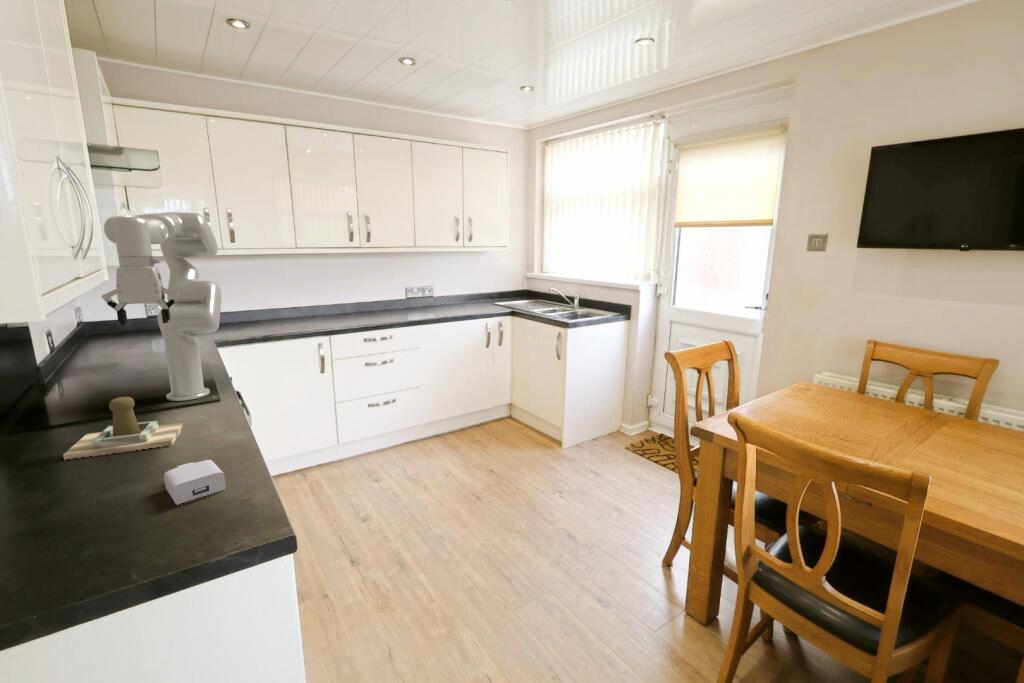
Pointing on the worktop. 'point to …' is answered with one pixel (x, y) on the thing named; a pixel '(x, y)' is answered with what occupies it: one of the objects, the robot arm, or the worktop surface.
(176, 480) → the charger
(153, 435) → the socket board
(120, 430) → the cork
